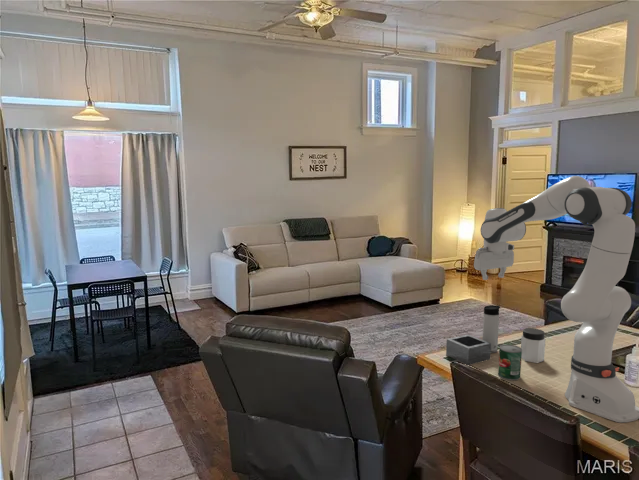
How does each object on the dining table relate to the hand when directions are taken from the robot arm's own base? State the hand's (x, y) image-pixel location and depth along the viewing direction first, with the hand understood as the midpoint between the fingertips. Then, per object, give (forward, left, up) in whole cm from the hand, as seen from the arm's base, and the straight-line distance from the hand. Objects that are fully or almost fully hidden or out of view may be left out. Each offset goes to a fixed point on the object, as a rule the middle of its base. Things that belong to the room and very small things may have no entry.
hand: (493, 278), depth 199 cm
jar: (-15, -8, -32) cm, 36 cm away
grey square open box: (-1, +14, -32) cm, 35 cm away
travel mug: (0, 0, -32) cm, 32 cm away
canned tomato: (-22, +14, -32) cm, 41 cm away
